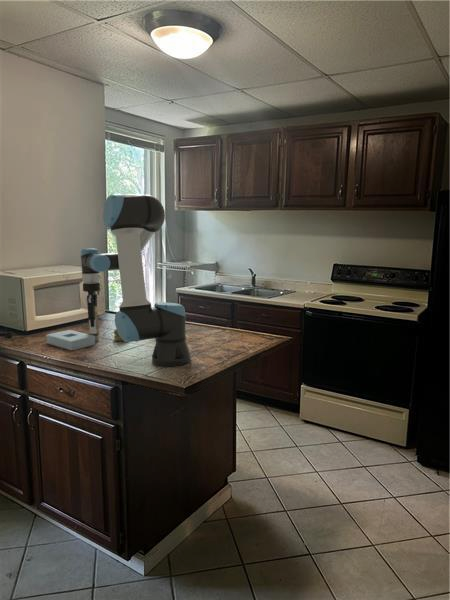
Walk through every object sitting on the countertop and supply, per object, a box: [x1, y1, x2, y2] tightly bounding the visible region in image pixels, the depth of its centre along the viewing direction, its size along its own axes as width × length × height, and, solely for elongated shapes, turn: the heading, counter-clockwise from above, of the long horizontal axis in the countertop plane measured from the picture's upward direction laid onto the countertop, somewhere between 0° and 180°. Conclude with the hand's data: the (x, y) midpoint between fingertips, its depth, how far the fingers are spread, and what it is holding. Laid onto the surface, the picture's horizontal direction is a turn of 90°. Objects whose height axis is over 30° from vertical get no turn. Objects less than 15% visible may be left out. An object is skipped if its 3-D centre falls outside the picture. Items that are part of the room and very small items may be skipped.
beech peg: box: [88, 306, 100, 343], centre depth 206 cm, size 4×4×16 cm
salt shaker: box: [113, 329, 125, 343], centre depth 207 cm, size 7×7×10 cm
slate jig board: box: [46, 329, 96, 351], centre depth 202 cm, size 20×12×4 cm, turn 51°
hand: (94, 332), depth 206 cm, fingers closed on beech peg, 4 cm apart
